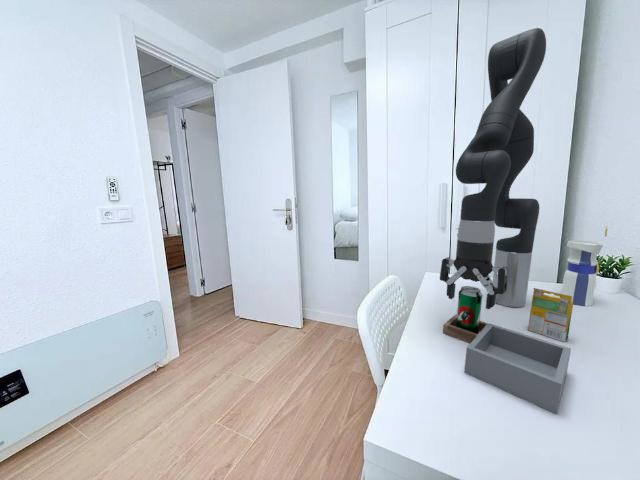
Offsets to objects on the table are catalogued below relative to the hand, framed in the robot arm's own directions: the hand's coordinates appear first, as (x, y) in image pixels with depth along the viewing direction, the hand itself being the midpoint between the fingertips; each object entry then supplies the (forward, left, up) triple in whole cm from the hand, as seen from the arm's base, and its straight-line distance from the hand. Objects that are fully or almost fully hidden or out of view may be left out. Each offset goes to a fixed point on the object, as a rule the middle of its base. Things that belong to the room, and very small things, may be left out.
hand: (469, 302), depth 66 cm
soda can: (0, 0, -9) cm, 9 cm away
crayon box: (-14, +14, -9) cm, 22 cm away
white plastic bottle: (-46, +17, -9) cm, 50 cm away
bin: (+9, +12, -8) cm, 17 cm away
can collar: (0, 0, -8) cm, 8 cm away
